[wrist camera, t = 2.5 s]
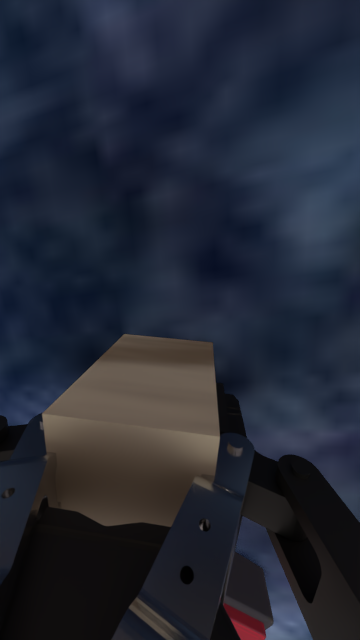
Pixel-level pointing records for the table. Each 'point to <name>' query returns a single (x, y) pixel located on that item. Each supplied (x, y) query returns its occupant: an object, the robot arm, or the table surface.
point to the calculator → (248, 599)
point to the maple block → (136, 431)
